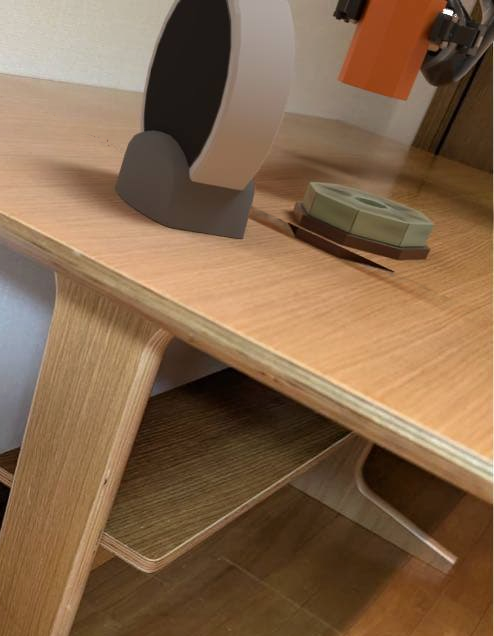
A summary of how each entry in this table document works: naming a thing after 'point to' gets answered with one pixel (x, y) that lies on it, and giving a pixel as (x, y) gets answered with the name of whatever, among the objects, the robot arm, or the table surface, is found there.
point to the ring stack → (360, 224)
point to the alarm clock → (210, 113)
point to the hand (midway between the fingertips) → (395, 15)
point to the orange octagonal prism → (390, 45)
